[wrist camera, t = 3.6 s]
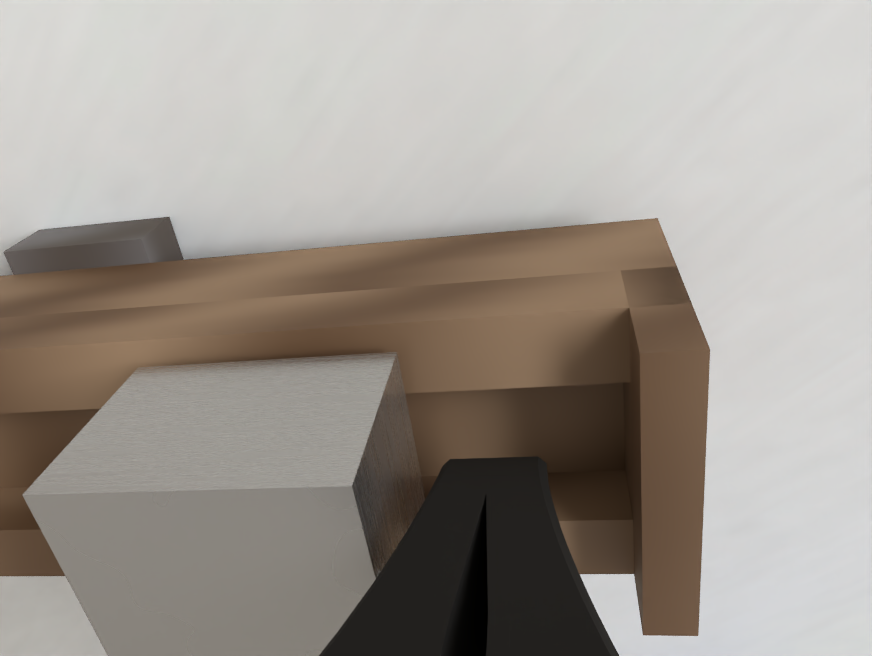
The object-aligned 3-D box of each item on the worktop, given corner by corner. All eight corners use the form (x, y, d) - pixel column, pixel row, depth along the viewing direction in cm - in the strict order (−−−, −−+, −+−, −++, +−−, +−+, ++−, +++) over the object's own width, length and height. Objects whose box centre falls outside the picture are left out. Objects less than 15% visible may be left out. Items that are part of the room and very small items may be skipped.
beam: (647, 169, 13) (711, 311, 8) (649, 434, 16) (696, 658, 11) (-317, 265, 17) (-658, 400, 12) (-180, 464, 20) (-413, 639, 15)
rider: (412, 305, 11) (351, 486, 8) (449, 516, 13) (415, 737, 10) (178, 323, 12) (22, 495, 8) (248, 520, 14) (146, 727, 10)
